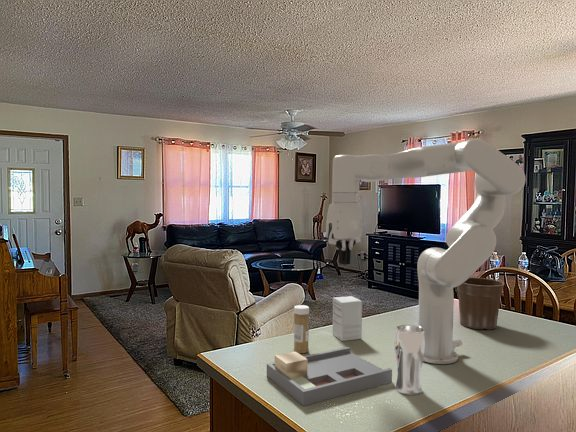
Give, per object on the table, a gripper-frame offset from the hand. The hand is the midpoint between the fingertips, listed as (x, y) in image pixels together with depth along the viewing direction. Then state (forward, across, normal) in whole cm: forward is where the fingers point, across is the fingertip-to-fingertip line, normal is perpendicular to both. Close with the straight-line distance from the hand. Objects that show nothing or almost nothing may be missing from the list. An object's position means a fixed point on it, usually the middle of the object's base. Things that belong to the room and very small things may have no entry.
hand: (344, 263), depth 123 cm
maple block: (+25, +21, +6) cm, 33 cm away
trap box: (+27, +12, +10) cm, 31 cm away
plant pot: (+27, -62, -2) cm, 68 cm away
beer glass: (+27, -2, +24) cm, 36 cm away
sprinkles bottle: (+27, +8, -10) cm, 30 cm away
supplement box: (+27, -12, -14) cm, 33 cm away
